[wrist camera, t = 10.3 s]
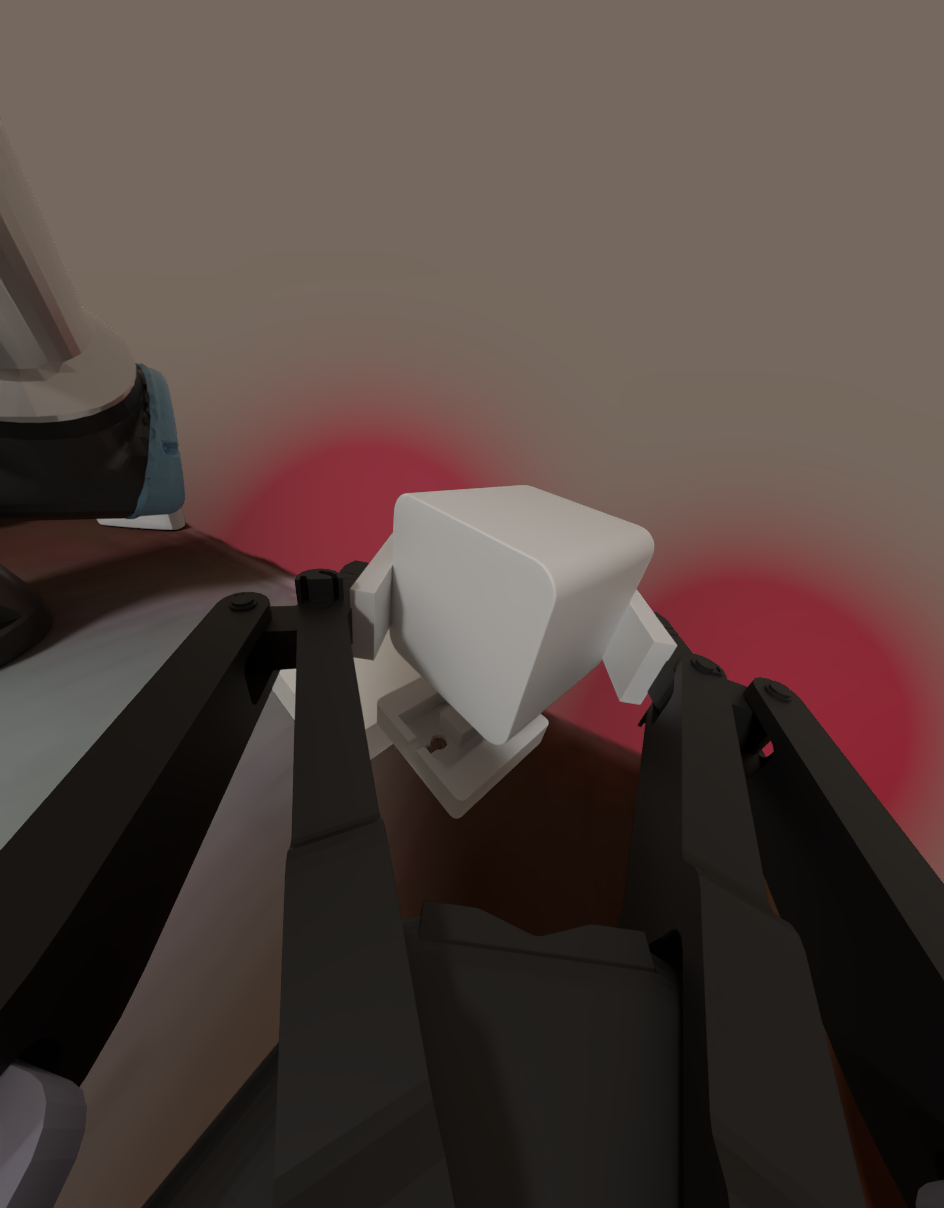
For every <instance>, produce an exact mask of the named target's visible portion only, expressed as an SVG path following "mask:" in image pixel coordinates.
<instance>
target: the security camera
mask: <svg viewBox="0 0 944 1208" xmlns="http://www.w3.org/2000/svg"><path fill="white" fill-rule="evenodd" d="M653 552H654V541H653V539H652V536H651V535H650V534H649V532H648V531H647V530H646V529H644V528H642V527H641V526H638V525H636V524H633V523H630V522H628V521H624V520H622V519H619V518H617V517H614V516H611V515H608V514H606V513H603V512H600V511H597V510H595V509H592V508H589V507H587V506H584V505H581V504H578V503H576V502H573V501H570V500H567V499H564V498H562V497H559V496H556V495H554V494H551V493H548V492H546V491H543V490H540V489H537V488H535V487H532V486H528V485H518V486H504V487H490V488H476V489H461V490H447V491H433V492H419V493H406V494H403V495H401V496H400V497H399V498H398V500H397V502H396V504H395V509H394V526H393V550H392V564H393V566H392V590H391V614H390V627H389V632H390V638H391V641H392V644H393V646H394V648H395V649H396V651H397V652H398V653H399V654H400V655H401V656H402V657H403V658H404V659H405V660H406V661H407V662H408V663H409V664H410V665H411V666H412V667H413V668H414V669H415V670H416V671H417V672H418V673H419V674H420V675H421V676H422V677H420V678H418V679H416V680H414V681H412V682H410V683H408V684H406V685H404V686H402V687H400V688H398V689H396V690H394V691H392V692H390V693H388V694H386V695H385V696H383V697H381V698H379V699H378V701H377V724H378V725H379V726H380V728H381V729H382V730H383V731H384V733H385V734H386V735H387V736H388V738H389V739H390V740H391V741H392V743H393V744H394V745H395V746H396V748H397V749H398V750H399V751H400V753H401V754H402V755H403V757H404V758H405V759H406V760H407V762H408V763H409V764H410V765H411V767H412V768H413V769H414V770H415V772H416V773H417V774H418V775H419V777H420V778H421V779H422V781H423V782H424V783H425V784H426V786H427V787H428V788H429V789H430V791H431V792H432V793H433V794H434V796H435V797H436V798H437V799H438V801H439V802H440V803H441V805H442V806H443V807H444V808H445V810H446V811H447V812H448V813H449V815H450V816H451V817H453V818H460V817H462V816H463V815H464V814H465V813H466V812H467V811H468V810H469V809H470V808H471V807H472V806H474V805H475V804H476V803H477V802H478V801H479V800H480V799H481V798H482V797H483V796H484V795H485V794H486V793H487V792H488V791H489V790H491V789H492V788H493V787H494V786H495V785H496V784H497V783H498V782H499V781H500V780H501V779H502V778H503V777H504V776H505V775H507V774H508V773H509V772H510V771H511V770H512V769H513V768H514V767H515V766H516V765H517V764H518V763H519V762H520V761H521V760H522V759H524V758H525V757H526V756H527V755H528V754H529V753H530V752H531V751H532V750H533V749H534V748H535V747H536V746H537V745H538V744H540V742H541V740H542V738H543V736H544V733H545V731H546V729H547V726H548V720H547V719H546V718H545V717H544V716H543V715H541V713H542V712H543V711H544V710H546V709H547V708H548V707H549V706H550V705H551V704H553V703H554V702H555V701H556V700H557V699H559V698H560V697H561V696H562V695H563V694H565V693H566V692H567V691H568V690H569V689H570V688H572V687H573V686H574V685H575V684H576V683H578V682H579V681H580V680H581V679H582V678H583V677H585V676H586V675H587V674H588V673H589V672H591V671H592V670H593V669H594V668H595V667H596V666H598V664H599V663H600V662H601V660H602V658H603V656H604V654H605V652H606V650H607V648H608V645H609V643H610V641H611V639H612V637H613V635H614V633H615V631H616V629H617V627H618V625H619V623H620V621H621V619H622V617H623V615H624V613H625V611H626V609H627V607H628V604H629V603H630V601H631V599H632V597H633V595H634V593H635V591H636V589H637V587H638V584H639V582H640V580H641V578H642V576H643V574H644V572H645V570H646V568H647V566H648V564H649V562H650V560H651V558H652V555H653ZM434 738H442V739H444V740H445V741H446V743H447V746H446V747H445V748H444V749H438V750H435V751H434V752H432V753H430V752H429V751H428V750H427V748H428V747H429V746H430V744H431V741H432V740H433V739H434Z"/></svg>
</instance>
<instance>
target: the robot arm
mask: <svg viewBox="0 0 944 1208" xmlns="http://www.w3.org/2000/svg"><path fill="white" fill-rule="evenodd" d="M178 446H179V445H178V439H177V430H176V424H175V418H174V412H173V407H172V402H171V397H170V392H169V388H168V384H167V381H166V379H165V377H164V376H163V375H162V373H161V372H159V371H157V370H155V369H152V368H148V367H147V366H145V365H143V364H137V363H135V361H134V359H133V356H132V355H131V353H130V351H129V349H128V347H127V345H126V344H125V342H124V341H123V339H122V338H121V337H120V336H119V335H118V334H117V333H116V332H115V331H114V330H113V329H112V328H111V327H110V326H109V325H107V324H106V323H105V322H104V321H102V320H101V319H100V318H98V317H97V316H95V315H94V314H92V313H91V312H89V311H88V310H86V309H84V308H83V307H82V305H81V303H80V301H79V298H78V296H77V294H76V291H75V289H74V287H73V285H72V282H71V280H70V278H69V276H68V273H67V271H66V268H65V266H64V264H63V262H62V259H61V257H60V255H59V253H58V250H57V248H56V246H55V243H54V241H53V238H52V236H51V234H50V232H49V229H48V227H47V225H46V222H45V220H44V218H43V216H42V213H41V211H40V209H39V206H38V204H37V202H36V200H35V197H34V195H33V193H32V190H31V188H30V186H29V183H28V181H27V179H26V176H25V174H24V172H23V170H22V167H21V165H20V163H19V160H18V158H17V156H16V154H15V151H14V149H13V147H12V144H11V142H10V140H9V138H8V135H7V133H6V130H5V128H4V126H3V124H2V121H1V119H0V521H35V520H77V519H120V518H125V519H135V518H138V517H139V516H151V515H165V514H172V513H174V512H176V511H178V510H179V509H180V508H181V507H182V506H183V504H184V501H185V490H184V479H183V470H182V464H181V458H180V452H179V450H178ZM392 550H393V533H392V534H391V536H390V537H389V538H388V540H387V541H386V542H385V543H384V545H383V546H382V547H381V549H380V550H379V551H378V553H377V554H376V555H375V557H374V558H373V559H372V561H371V562H370V563H366V562H361V561H354V562H351V563H349V564H347V565H345V566H344V567H343V569H342V570H341V571H340V573H338V572H336V571H333V570H329V569H312V570H307V571H304V572H302V573H300V574H299V575H297V576H296V578H295V587H296V594H297V602H298V605H296V606H272V607H270V601H269V599H268V598H267V596H265V595H263V594H261V593H254V592H241V593H236V594H232V595H230V596H227V597H225V598H223V599H222V600H220V601H219V602H218V603H217V604H216V605H215V606H214V607H213V608H212V610H211V611H210V612H209V613H208V614H207V615H206V616H205V617H204V619H203V620H202V621H201V622H200V623H199V624H198V625H197V627H196V628H195V629H194V630H193V631H192V632H191V633H190V635H189V636H188V637H187V638H186V639H185V640H184V641H183V643H182V644H181V645H180V646H179V647H178V648H177V649H176V651H175V652H174V653H173V654H172V655H171V656H170V657H169V659H168V660H167V661H166V662H165V663H164V664H163V665H162V667H161V668H160V669H159V670H158V671H157V672H156V673H155V675H154V676H153V677H152V678H151V679H150V680H149V681H148V683H147V684H146V685H145V686H144V687H143V688H142V689H141V691H140V692H139V693H138V694H137V695H136V696H135V697H134V699H133V700H132V701H131V702H130V703H129V704H128V705H127V707H126V708H125V709H124V710H123V711H122V712H121V713H120V715H119V716H118V717H117V718H116V719H115V720H114V721H113V723H112V724H111V725H110V726H109V727H108V728H107V729H106V731H105V732H104V733H103V734H102V735H101V736H100V737H99V739H98V740H97V741H96V742H95V743H94V744H93V745H92V747H91V748H90V749H89V750H88V751H87V752H86V753H85V755H84V756H83V757H82V758H81V759H80V760H79V761H78V763H77V764H76V765H75V766H74V767H73V768H72V769H71V771H70V772H69V773H68V774H67V775H66V776H65V777H64V779H63V780H62V781H61V782H60V783H59V784H58V785H57V787H56V788H55V789H54V790H53V791H52V792H51V793H50V795H49V796H48V797H47V798H46V799H45V800H44V801H43V803H42V804H41V805H40V806H39V807H38V808H37V809H36V811H35V812H34V813H33V814H32V815H31V816H30V817H29V819H28V820H27V821H26V822H25V823H24V824H23V825H22V826H21V828H20V829H19V830H18V831H17V832H16V833H15V834H14V836H13V837H12V838H11V839H10V840H9V841H8V842H7V844H6V845H5V846H4V847H3V848H2V849H1V850H0V1208H53V1206H54V1204H55V1202H56V1200H57V1198H58V1196H59V1194H60V1192H61V1190H62V1187H63V1185H64V1183H65V1181H66V1179H67V1177H68V1175H69V1173H70V1171H71V1169H72V1166H73V1164H74V1162H75V1160H76V1158H77V1155H78V1151H79V1148H80V1145H81V1141H82V1138H83V1135H84V1132H85V1125H86V1112H87V1105H86V1101H85V1098H84V1094H83V1091H82V1089H80V1088H79V1087H80V1085H81V1084H82V1082H83V1081H84V1079H85V1078H86V1076H87V1075H88V1073H89V1071H90V1069H91V1068H92V1066H93V1064H94V1063H95V1061H96V1059H97V1057H98V1056H99V1054H100V1052H101V1050H102V1049H103V1047H104V1045H105V1044H106V1042H107V1040H108V1038H109V1037H110V1035H111V1033H112V1031H113V1030H114V1028H115V1026H116V1025H117V1023H118V1021H119V1019H120V1018H121V1016H122V1014H123V1012H124V1010H125V1008H126V1006H127V1004H128V1002H129V1000H130V998H131V996H132V994H133V992H134V990H135V988H136V986H137V984H138V982H139V980H140V978H141V976H142V974H143V972H144V970H145V967H146V965H147V963H148V961H149V959H150V956H151V954H152V952H153V950H154V948H155V945H156V943H157V941H158V939H159V937H160V934H161V932H162V930H163V928H164V926H165V923H166V921H167V919H168V917H169V915H170V912H171V910H172V908H173V906H174V904H175V901H176V899H177V897H178V895H179V893H180V890H181V888H182V886H183V884H184V882H185V879H186V877H187V875H188V873H189V870H190V868H191V866H192V864H193V862H194V859H195V857H196V855H197V853H198V851H199V848H200V846H201V844H202V842H203V840H204V837H205V835H206V833H207V831H208V829H209V826H210V824H211V822H212V820H213V818H214V815H215V813H216V811H217V809H218V807H219V804H220V802H221V800H222V798H223V796H224V793H225V791H226V789H227V787H228V785H229V782H230V780H231V778H232V776H233V774H234V771H235V769H236V767H237V765H238V763H239V760H240V758H241V756H242V754H243V752H244V749H245V747H246V745H247V743H248V741H249V738H250V736H251V734H252V732H253V730H254V727H255V725H256V723H257V721H258V719H259V716H260V714H261V712H262V710H263V708H264V705H265V703H266V701H267V699H268V697H269V694H270V692H271V690H272V688H273V686H274V683H275V681H276V679H277V677H278V675H279V672H280V670H285V669H296V690H295V729H294V767H293V806H292V838H291V846H290V848H289V850H288V852H287V859H286V871H285V893H284V920H283V947H282V975H281V1002H280V1029H279V1042H278V1043H277V1045H276V1046H275V1047H274V1048H273V1049H272V1051H271V1052H270V1053H269V1054H268V1055H267V1057H266V1058H265V1059H264V1060H263V1061H262V1063H261V1064H260V1065H259V1066H258V1067H257V1069H256V1070H255V1071H254V1072H253V1073H252V1075H251V1076H250V1077H249V1078H248V1080H247V1081H246V1082H245V1083H244V1084H243V1086H242V1087H241V1088H240V1089H239V1090H238V1092H237V1093H236V1094H235V1095H234V1096H233V1098H232V1099H231V1100H230V1101H229V1102H228V1104H227V1105H226V1106H225V1107H224V1108H223V1110H222V1111H221V1112H220V1113H219V1114H218V1116H217V1117H216V1118H215V1119H214V1120H213V1122H212V1123H211V1124H210V1125H209V1126H208V1128H207V1129H206V1130H205V1131H204V1132H203V1134H202V1135H201V1136H200V1137H199V1138H198V1140H197V1141H196V1142H195V1143H194V1145H193V1146H192V1147H191V1148H190V1149H189V1151H188V1152H187V1153H186V1154H185V1155H184V1157H183V1158H182V1159H181V1160H180V1161H179V1163H178V1164H177V1165H176V1166H175V1167H174V1169H173V1170H172V1171H171V1172H170V1173H169V1175H168V1176H167V1177H166V1178H165V1179H164V1181H163V1182H162V1183H161V1184H160V1185H159V1187H158V1188H157V1189H156V1190H155V1191H154V1193H153V1194H152V1195H151V1196H150V1197H149V1199H148V1200H147V1201H146V1202H145V1204H144V1205H143V1206H142V1207H141V1208H866V1203H865V1199H864V1195H863V1191H862V1187H861V1183H860V1178H859V1174H858V1170H857V1166H856V1162H855V1157H854V1153H853V1149H852V1145H851V1141H850V1137H849V1132H848V1128H847V1124H846V1120H845V1116H844V1111H843V1107H842V1103H841V1099H840V1095H839V1091H838V1086H837V1082H836V1078H835V1074H834V1070H833V1065H832V1061H831V1057H830V1053H829V1049H828V1045H827V1040H826V1036H825V1032H824V1028H823V1025H824V1027H825V1030H826V1032H827V1035H828V1037H829V1040H830V1042H831V1045H832V1047H833V1050H834V1052H835V1055H836V1057H837V1060H838V1062H839V1065H840V1067H841V1069H842V1072H843V1074H844V1076H845V1078H846V1081H847V1083H848V1085H849V1088H850V1090H851V1092H852V1095H853V1097H854V1099H855V1102H856V1104H857V1106H858V1109H859V1111H860V1113H861V1115H862V1117H863V1119H864V1121H865V1123H866V1125H867V1127H868V1129H869V1131H870V1133H871V1135H872V1137H873V1139H874V1141H875V1143H876V1145H877V1148H878V1150H879V1152H880V1154H881V1156H882V1158H883V1160H884V1162H885V1164H886V1166H887V1168H888V1170H889V1172H890V1174H891V1176H892V1177H893V1179H894V1181H895V1183H896V1185H897V1187H898V1188H899V1190H900V1192H901V1194H902V1196H903V1198H904V1200H905V1201H906V1203H907V1205H908V1207H909V1208H944V884H943V882H942V881H941V880H940V878H939V877H938V876H937V875H936V873H935V872H934V871H933V869H932V868H931V867H930V865H929V864H928V863H927V862H926V860H925V859H924V858H923V856H922V855H921V854H920V853H919V851H918V850H917V849H916V847H915V846H914V845H913V844H912V842H911V841H910V840H909V838H908V837H907V836H906V834H905V833H904V832H903V831H902V829H901V828H900V827H899V826H898V824H897V823H896V822H895V820H894V819H893V818H892V816H891V815H890V814H889V813H888V811H887V810H886V809H885V807H884V806H883V805H882V804H881V802H880V801H879V800H878V799H877V797H876V796H875V794H874V793H873V792H872V790H871V789H870V788H869V787H868V785H867V784H866V783H865V782H864V780H863V779H862V778H861V776H860V775H859V774H858V772H857V771H856V770H855V769H854V767H853V766H852V765H851V763H850V762H849V761H848V759H847V758H846V757H845V756H844V754H843V753H842V752H841V750H840V749H839V748H838V747H837V745H836V744H835V743H834V741H833V740H832V739H831V738H830V736H829V735H828V734H827V732H826V731H825V730H824V728H823V727H822V726H821V725H820V723H819V722H818V721H817V719H816V718H815V717H814V716H813V714H812V713H811V712H810V710H809V709H808V708H807V707H806V705H805V704H804V703H803V701H802V700H801V699H800V698H799V697H798V696H797V695H796V694H795V693H794V692H792V691H791V690H790V689H789V688H788V687H786V686H785V685H781V683H779V682H776V681H772V680H770V679H767V678H761V677H760V678H755V679H754V680H753V681H752V682H751V684H750V685H749V686H748V687H746V686H743V685H741V684H738V683H735V682H732V681H729V680H727V677H726V674H725V673H724V671H723V670H722V669H721V668H720V667H719V666H718V665H717V664H715V663H714V662H713V661H711V660H709V659H707V658H705V657H703V656H700V655H697V654H693V653H692V652H691V651H690V649H689V648H688V647H687V645H686V644H685V643H684V641H683V640H682V639H681V638H680V637H679V636H678V634H677V632H676V631H675V630H673V627H672V626H671V625H670V623H669V622H668V621H667V620H666V619H665V618H664V617H662V616H661V615H660V614H658V613H657V612H653V611H652V610H651V609H650V607H649V606H648V604H647V603H646V602H645V600H644V599H643V598H642V596H641V595H640V593H639V592H638V591H637V589H636V591H635V593H634V595H633V597H632V599H631V601H630V603H629V604H628V607H627V609H626V611H625V613H624V615H623V617H622V619H621V621H620V623H619V625H618V627H617V629H616V631H615V633H614V635H613V637H612V639H611V641H610V643H609V645H608V648H607V650H606V652H605V654H604V656H603V658H602V659H603V661H604V664H605V667H606V669H607V671H608V674H609V676H610V679H611V681H612V684H613V686H614V689H615V691H616V694H617V696H618V698H619V701H621V702H626V703H633V704H639V705H640V704H641V703H642V701H643V700H644V698H645V696H646V695H647V693H649V695H650V697H651V699H652V701H653V702H652V704H651V705H650V707H649V708H648V710H647V711H646V713H645V715H644V716H643V717H642V719H641V720H640V722H639V724H638V726H640V727H641V726H642V725H643V723H645V732H644V740H643V748H642V756H641V764H640V772H639V781H638V789H637V797H636V805H635V813H634V821H633V830H632V838H631V846H630V854H629V862H628V870H627V878H626V887H625V895H624V903H623V909H622V913H621V917H620V920H619V922H618V924H617V926H616V928H614V927H607V926H600V925H593V924H590V925H586V926H582V927H578V928H574V929H570V930H565V931H561V932H557V933H553V934H549V935H545V936H534V935H531V934H529V933H527V932H525V931H523V930H521V929H519V928H517V927H515V926H513V925H511V924H509V923H507V922H505V921H503V920H501V919H499V918H497V917H495V916H493V915H491V914H489V913H487V912H485V911H483V910H481V909H479V908H473V907H466V906H459V905H452V904H445V903H438V902H431V901H424V902H423V906H422V911H421V915H420V916H416V917H411V918H407V919H404V920H402V921H401V915H400V910H399V904H398V898H397V892H396V887H395V881H394V875H393V869H392V864H391V858H390V852H389V846H388V841H387V835H386V830H385V826H384V822H383V820H382V818H381V817H380V813H379V809H378V803H377V797H376V791H375V785H374V779H373V773H372V767H371V761H370V755H369V749H368V743H367V736H366V730H365V724H364V718H363V712H362V706H361V700H360V694H359V688H358V682H357V676H356V670H355V664H354V658H360V659H366V660H372V661H374V659H375V657H376V655H377V653H378V651H379V649H380V646H381V644H382V642H383V640H384V638H385V636H386V634H387V631H388V629H389V627H390V614H391V590H392V566H393V564H392ZM52 620H53V618H52V614H51V612H50V610H49V609H48V607H47V605H46V604H45V602H44V600H43V599H42V597H41V596H40V595H39V593H38V592H37V591H36V590H35V589H33V588H32V587H31V586H29V585H28V584H27V583H25V582H24V581H23V580H21V579H20V578H19V577H17V576H16V575H15V574H13V573H12V572H11V571H9V570H8V569H7V568H5V567H4V566H2V565H1V564H0V665H2V664H4V663H6V662H8V661H10V660H12V659H13V658H15V657H17V656H18V655H20V654H22V653H23V652H25V651H26V650H28V649H29V648H30V647H32V646H33V645H34V644H35V643H37V642H38V641H39V640H40V639H41V638H42V637H43V636H44V635H45V634H46V633H47V631H48V630H49V628H50V626H51V624H52ZM351 645H352V646H351ZM353 657H354V658H353ZM770 741H771V742H772V744H773V750H774V752H773V753H772V754H770V755H769V756H768V757H766V756H765V755H764V753H763V751H762V749H763V748H764V747H765V746H766V744H768V743H769V742H770ZM763 875H764V876H763ZM764 877H765V880H766V882H767V885H768V887H769V890H770V892H771V895H772V897H773V900H774V902H775V905H776V907H777V910H778V912H779V915H780V917H781V918H780V917H779V916H777V915H775V914H774V913H773V912H772V910H771V909H770V905H769V902H768V898H767V893H766V887H765V882H764ZM822 1022H823V1024H822Z"/></svg>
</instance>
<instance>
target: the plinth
mask: <svg viewBox="0 0 944 1208" xmlns="http://www.w3.org/2000/svg"><path fill="white" fill-rule="evenodd" d="M351 646H352V645H351ZM353 658H354V657H353ZM354 664H355V670H356V676H357V682H358V688H359V694H360V700H361V706H362V712H363V718H364V724H365V730H366V736H367V743H368V749H369V755H370V760H371V759H372V758H374V757H375V756H377V755H378V754H380V753H381V752H382V751H384V750H385V749H387V748H388V747H389V746H391V745H392V744H393V743H392V741H391V740H390V739H389V738H388V736H387V735H386V734H385V733H384V731H383V730H382V729H381V728H380V726H379V725H378V724H377V701H378V699H379V698H381V697H383V696H385V695H386V694H388V693H390V692H392V691H394V690H396V689H398V688H400V687H402V686H404V685H406V684H408V683H410V682H412V681H414V680H416V679H418V678H420V677H422V676H421V675H420V674H419V673H418V672H417V671H416V670H415V669H414V668H413V667H412V666H411V665H410V664H409V663H408V662H407V661H406V660H405V659H404V658H403V657H402V656H401V655H400V654H399V653H398V652H397V651H396V649H395V648H394V646H393V644H392V641H391V638H390V632H389V629H388V631H387V634H386V636H385V638H384V640H383V642H382V644H381V646H380V649H379V651H378V653H377V655H376V657H375V659H374V661H372V660H366V659H360V658H354ZM272 690H273V691H274V693H275V694H276V695H277V697H278V698H279V700H280V701H281V702H282V704H283V705H284V706H285V708H286V709H287V711H288V712H289V713H290V715H291V716H292V718H293V719H294V720H295V690H296V669H285V670H280V672H279V675H278V677H277V679H276V681H275V683H274V686H273V688H272Z"/></svg>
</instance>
